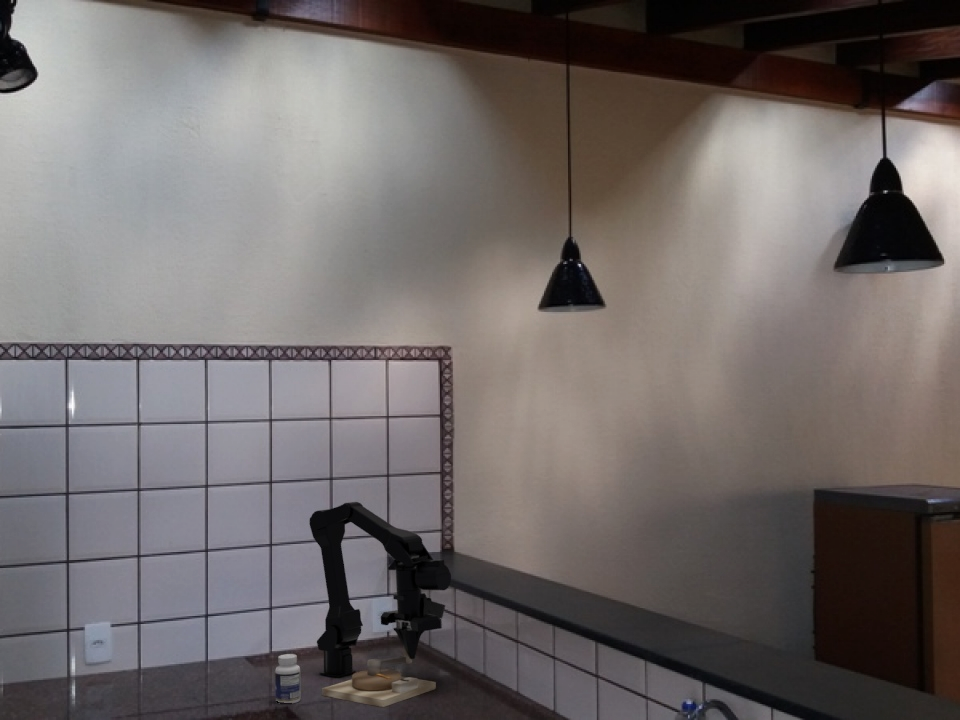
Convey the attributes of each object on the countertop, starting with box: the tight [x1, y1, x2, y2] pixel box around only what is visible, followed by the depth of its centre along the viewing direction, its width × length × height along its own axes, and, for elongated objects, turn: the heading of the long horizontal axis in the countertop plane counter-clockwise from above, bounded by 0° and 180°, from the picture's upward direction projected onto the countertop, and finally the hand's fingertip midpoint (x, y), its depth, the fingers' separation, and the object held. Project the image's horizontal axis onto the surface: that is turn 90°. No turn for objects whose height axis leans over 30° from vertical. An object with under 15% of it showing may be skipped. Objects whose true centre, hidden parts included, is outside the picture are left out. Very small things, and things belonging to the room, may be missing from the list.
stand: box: [321, 675, 437, 708], centre depth 238 cm, size 18×18×4 cm
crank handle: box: [351, 646, 413, 690], centre depth 239 cm, size 11×16×7 cm
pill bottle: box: [274, 653, 301, 704], centre depth 232 cm, size 5×5×10 cm
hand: (412, 658), depth 242 cm, fingers closed
